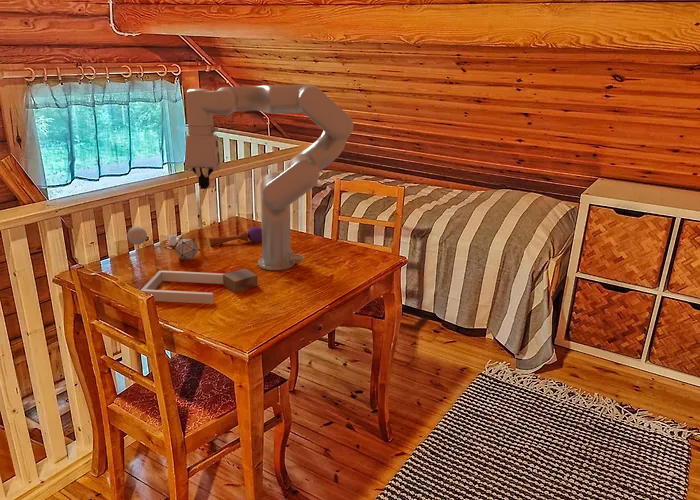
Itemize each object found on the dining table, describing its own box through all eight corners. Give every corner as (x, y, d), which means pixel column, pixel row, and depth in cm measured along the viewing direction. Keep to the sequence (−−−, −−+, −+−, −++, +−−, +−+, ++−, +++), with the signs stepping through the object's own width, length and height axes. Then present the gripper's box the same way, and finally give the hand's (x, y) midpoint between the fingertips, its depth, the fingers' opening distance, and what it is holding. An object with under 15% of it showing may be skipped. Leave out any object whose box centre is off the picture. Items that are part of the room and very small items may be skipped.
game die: (188, 271, 196) (179, 256, 187) (173, 258, 199) (164, 242, 191) (208, 255, 199) (200, 239, 191) (193, 242, 202) (185, 226, 194)
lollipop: (127, 269, 186) (122, 226, 181) (144, 265, 190) (139, 222, 185) (137, 275, 182) (132, 231, 177) (153, 270, 187) (149, 227, 181)
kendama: (207, 232, 211) (260, 224, 218) (210, 248, 213) (262, 239, 219) (209, 235, 206) (263, 226, 212) (212, 251, 207) (266, 242, 213)
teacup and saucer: (172, 240, 215) (171, 230, 214) (189, 243, 212) (188, 233, 211) (156, 247, 207) (155, 237, 206) (174, 251, 205) (173, 240, 203)
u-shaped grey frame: (226, 282, 179) (225, 273, 178) (212, 303, 165) (212, 294, 164) (160, 279, 180) (159, 270, 179) (140, 300, 166) (139, 290, 165)
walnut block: (245, 279, 183) (245, 268, 181) (257, 287, 178) (257, 275, 176) (223, 286, 178) (222, 274, 176) (235, 293, 173) (234, 281, 171)
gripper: (227, 129, 178) (230, 186, 185) (181, 127, 179) (185, 184, 185) (221, 133, 171) (224, 192, 178) (172, 131, 172) (177, 190, 178)
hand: (204, 188), depth 182 cm, fingers closed
